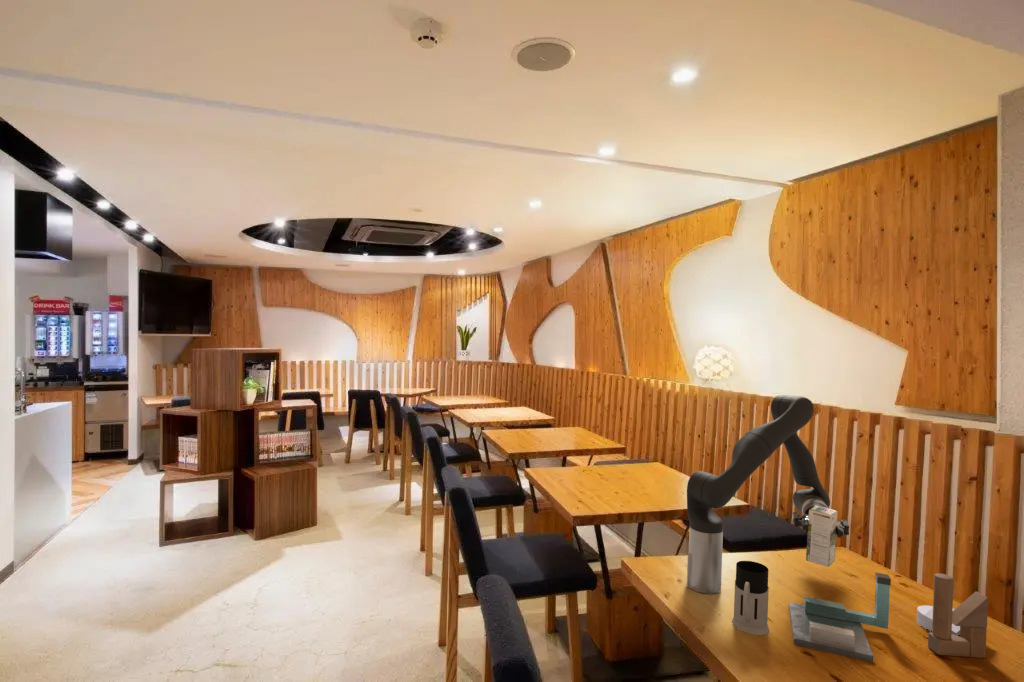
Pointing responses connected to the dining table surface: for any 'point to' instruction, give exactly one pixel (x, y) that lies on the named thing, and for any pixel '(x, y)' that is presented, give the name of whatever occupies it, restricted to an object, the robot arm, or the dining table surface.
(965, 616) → the wooden block
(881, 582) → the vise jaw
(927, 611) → the wedge on round base
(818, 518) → the syrup box
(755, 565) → the glass holder
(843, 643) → the vise
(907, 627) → the dining table surface
